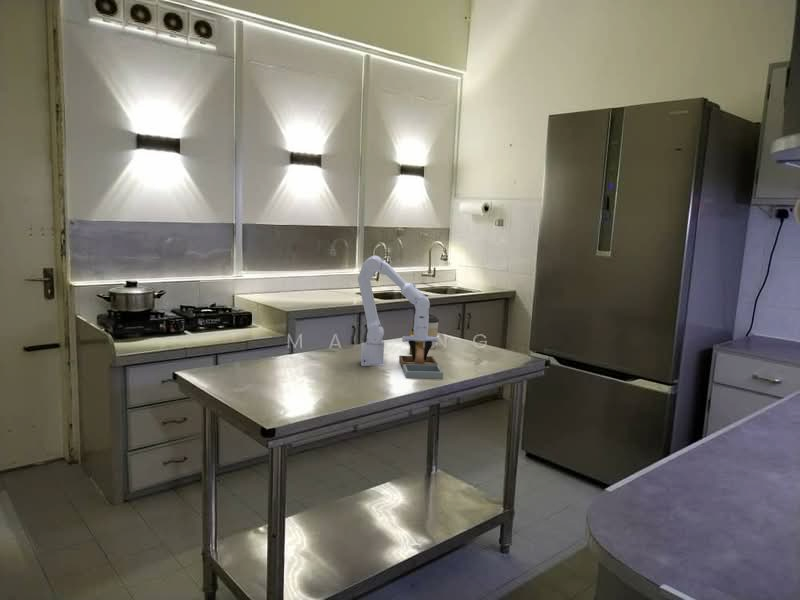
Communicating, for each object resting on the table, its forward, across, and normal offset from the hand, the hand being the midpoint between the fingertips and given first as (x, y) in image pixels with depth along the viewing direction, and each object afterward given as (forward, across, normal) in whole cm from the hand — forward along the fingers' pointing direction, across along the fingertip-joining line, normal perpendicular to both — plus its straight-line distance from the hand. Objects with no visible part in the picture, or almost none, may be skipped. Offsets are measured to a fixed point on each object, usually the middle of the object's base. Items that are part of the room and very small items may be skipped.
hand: (419, 359), depth 234 cm
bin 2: (+3, 0, -13) cm, 13 cm away
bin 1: (+3, 0, 0) cm, 3 cm away
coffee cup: (+3, +9, +35) cm, 36 cm away
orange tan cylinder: (+1, 0, 0) cm, 1 cm away
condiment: (+3, +2, +20) cm, 20 cm away
